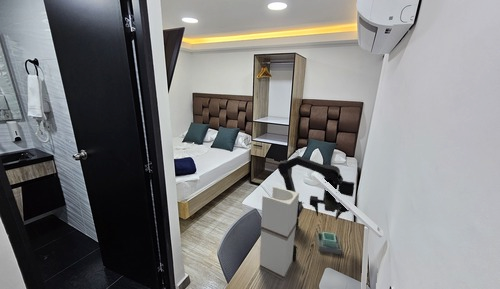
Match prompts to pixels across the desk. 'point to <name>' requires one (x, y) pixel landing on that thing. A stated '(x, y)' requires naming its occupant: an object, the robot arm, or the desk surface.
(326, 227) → the desk surface
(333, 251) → the grey square tray
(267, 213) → the white pencil holder
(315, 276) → the desk surface
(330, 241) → the teal crate
